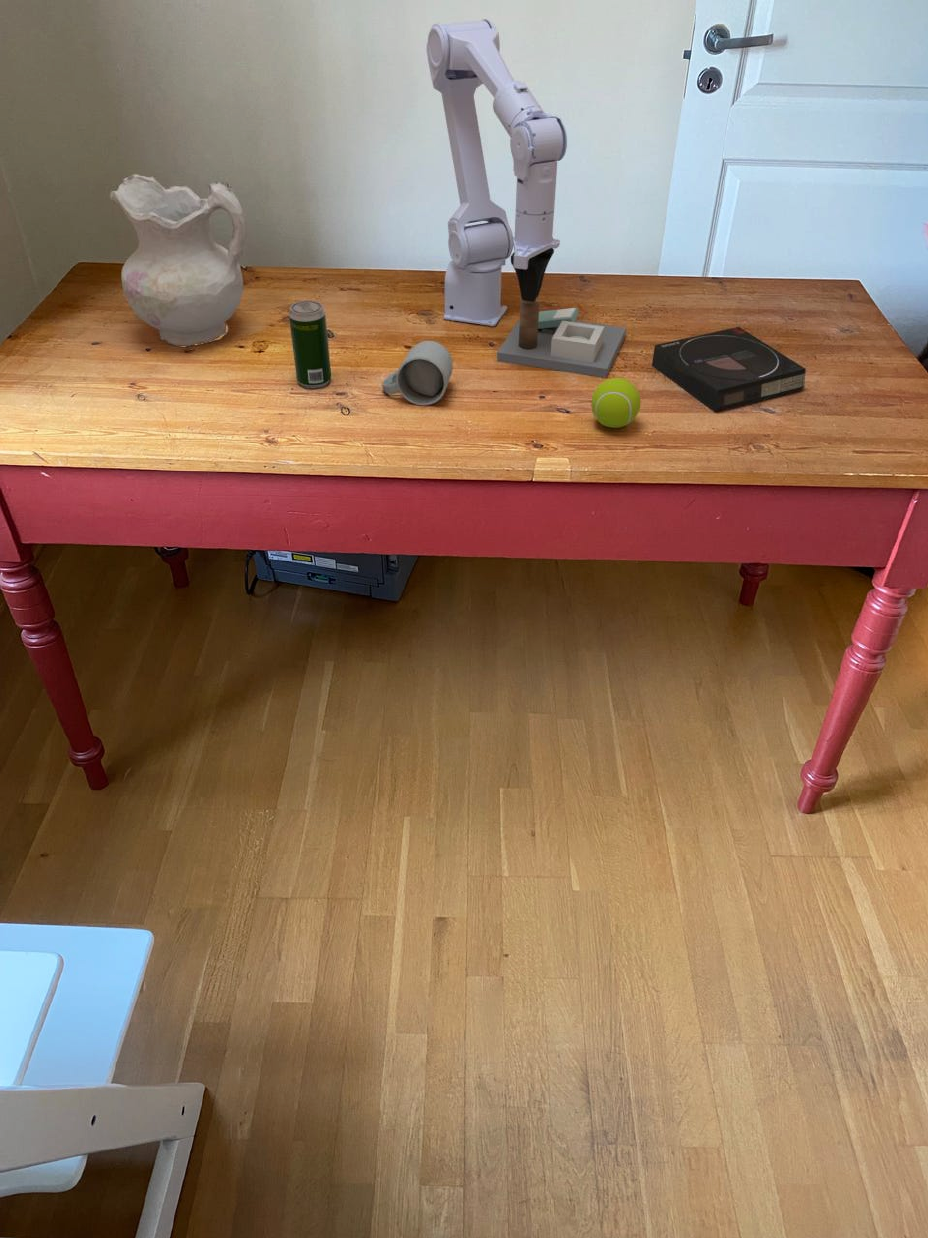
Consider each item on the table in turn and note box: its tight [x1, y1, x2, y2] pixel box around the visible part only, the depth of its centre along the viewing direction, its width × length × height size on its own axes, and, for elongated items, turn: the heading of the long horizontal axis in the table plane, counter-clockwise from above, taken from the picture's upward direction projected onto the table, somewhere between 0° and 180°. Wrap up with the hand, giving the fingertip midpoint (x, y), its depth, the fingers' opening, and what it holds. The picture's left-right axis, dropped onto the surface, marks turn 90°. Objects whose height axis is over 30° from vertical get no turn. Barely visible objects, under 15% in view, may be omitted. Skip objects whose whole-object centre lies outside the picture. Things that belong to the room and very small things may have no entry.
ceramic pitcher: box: [109, 173, 247, 347], centre depth 152 cm, size 22×20×25 cm
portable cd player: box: [651, 326, 807, 413], centre depth 147 cm, size 16×17×4 cm
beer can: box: [288, 300, 332, 390], centre depth 142 cm, size 5×5×12 cm
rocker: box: [538, 307, 579, 329], centre depth 157 cm, size 8×4×1 cm, turn 72°
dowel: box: [519, 300, 540, 350], centre depth 151 cm, size 3×3×7 cm
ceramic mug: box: [381, 340, 453, 406], centre depth 142 cm, size 11×8×8 cm
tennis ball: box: [590, 377, 642, 429], centre depth 135 cm, size 7×7×7 cm
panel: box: [496, 318, 627, 379], centre depth 154 cm, size 18×16×4 cm
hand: (530, 298), depth 148 cm, fingers closed
